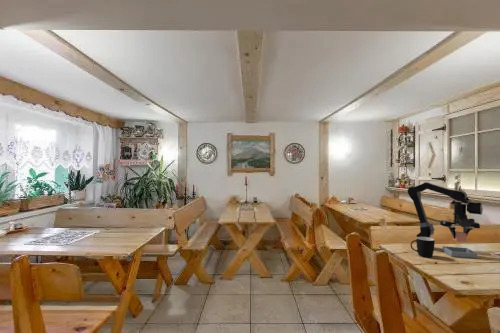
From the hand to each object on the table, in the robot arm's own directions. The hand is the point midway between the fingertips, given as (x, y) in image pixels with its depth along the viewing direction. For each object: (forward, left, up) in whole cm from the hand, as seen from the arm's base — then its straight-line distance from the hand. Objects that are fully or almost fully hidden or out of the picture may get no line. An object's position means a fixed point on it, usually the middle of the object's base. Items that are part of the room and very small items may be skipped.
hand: (459, 238), depth 175 cm
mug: (-22, -8, -10) cm, 26 cm away
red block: (0, 0, -1) cm, 1 cm away
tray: (0, 0, -9) cm, 9 cm away
